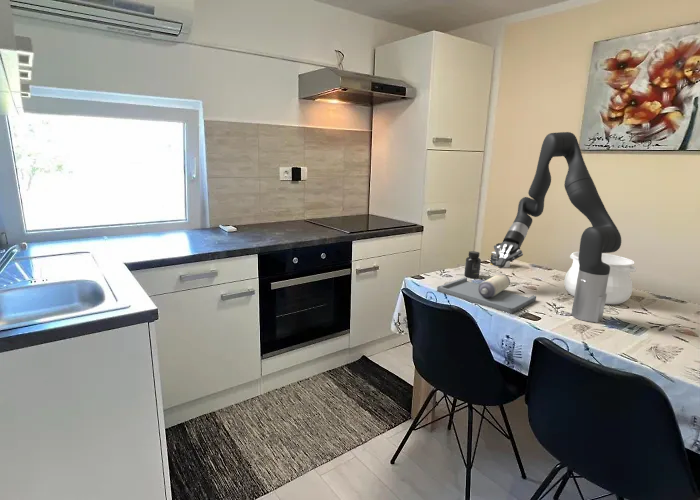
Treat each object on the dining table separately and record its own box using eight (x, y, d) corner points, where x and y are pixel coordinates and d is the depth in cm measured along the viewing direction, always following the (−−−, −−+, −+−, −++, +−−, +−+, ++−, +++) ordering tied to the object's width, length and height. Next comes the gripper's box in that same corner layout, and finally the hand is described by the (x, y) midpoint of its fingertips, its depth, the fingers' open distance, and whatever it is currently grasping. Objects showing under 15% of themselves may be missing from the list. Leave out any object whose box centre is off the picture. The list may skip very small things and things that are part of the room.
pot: (548, 290, 175) (554, 253, 171) (583, 284, 186) (590, 248, 182) (608, 310, 153) (616, 268, 149) (643, 302, 164) (652, 262, 160)
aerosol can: (490, 278, 175) (471, 288, 160) (504, 270, 170) (485, 280, 155) (499, 291, 173) (481, 303, 158) (513, 284, 169) (495, 295, 154)
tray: (535, 300, 161) (536, 296, 160) (511, 314, 146) (512, 308, 145) (464, 281, 183) (464, 277, 183) (436, 291, 168) (437, 286, 167)
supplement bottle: (480, 276, 192) (483, 252, 189) (476, 279, 187) (479, 254, 184) (466, 273, 196) (469, 249, 193) (462, 276, 190) (464, 252, 188)
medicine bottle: (489, 264, 215) (492, 242, 212) (499, 263, 218) (502, 242, 215) (499, 268, 208) (502, 245, 206) (509, 267, 211) (512, 244, 209)
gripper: (499, 227, 176) (482, 258, 171) (529, 232, 167) (512, 265, 162) (503, 237, 181) (487, 268, 176) (533, 243, 172) (516, 275, 166)
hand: (499, 266), depth 169 cm, fingers closed
